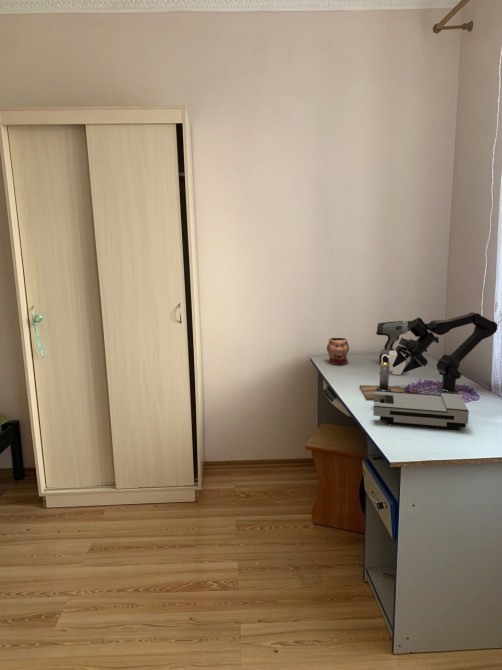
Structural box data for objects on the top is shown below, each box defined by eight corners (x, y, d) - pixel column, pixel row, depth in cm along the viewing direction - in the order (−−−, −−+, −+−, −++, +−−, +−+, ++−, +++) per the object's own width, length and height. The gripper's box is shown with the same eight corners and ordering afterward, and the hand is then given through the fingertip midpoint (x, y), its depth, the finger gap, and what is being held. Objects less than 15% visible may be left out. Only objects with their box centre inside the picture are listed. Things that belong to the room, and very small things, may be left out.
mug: (403, 372, 241) (404, 350, 239) (406, 376, 233) (407, 354, 231) (379, 371, 243) (380, 350, 241) (381, 375, 235) (382, 353, 233)
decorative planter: (323, 358, 272) (324, 335, 269) (344, 358, 272) (344, 334, 270) (330, 367, 252) (331, 342, 250) (352, 366, 253) (353, 341, 250)
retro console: (373, 406, 191) (374, 387, 189) (457, 413, 182) (459, 393, 181) (372, 424, 171) (373, 403, 169) (466, 433, 163) (468, 411, 161)
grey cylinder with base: (394, 392, 204) (395, 363, 202) (383, 394, 201) (384, 365, 199) (383, 388, 210) (385, 360, 207) (373, 390, 207) (374, 362, 204)
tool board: (409, 400, 196) (409, 398, 196) (366, 400, 197) (366, 397, 197) (398, 388, 214) (399, 385, 214) (359, 387, 215) (359, 385, 215)
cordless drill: (421, 367, 250) (424, 321, 245) (375, 365, 255) (377, 320, 250) (419, 363, 258) (422, 319, 253) (374, 362, 262) (376, 318, 258)
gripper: (400, 327, 211) (377, 352, 212) (422, 335, 193) (396, 362, 194) (415, 343, 214) (392, 368, 214) (438, 352, 196) (413, 379, 196)
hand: (397, 369), depth 205 cm, fingers open, 9 cm apart
